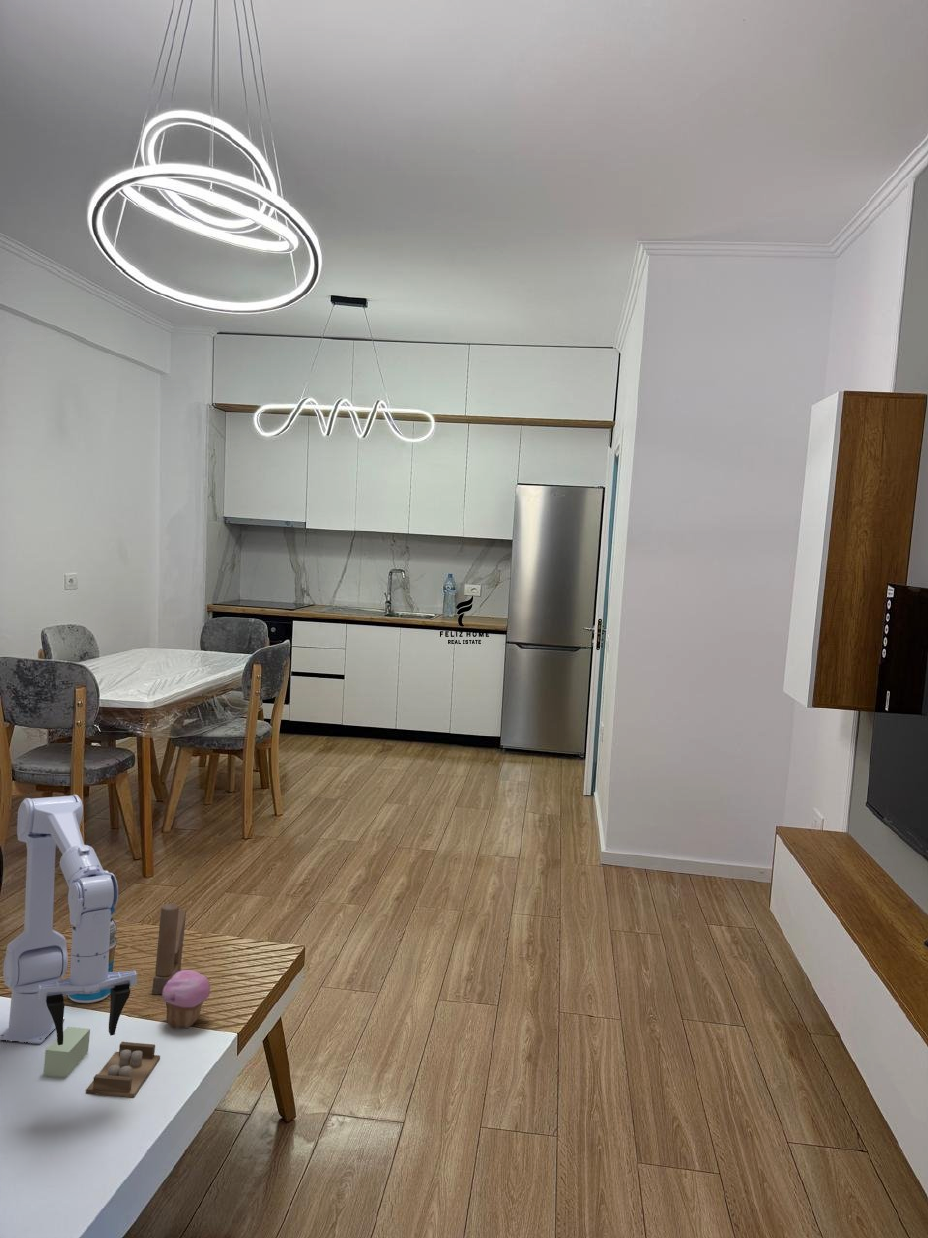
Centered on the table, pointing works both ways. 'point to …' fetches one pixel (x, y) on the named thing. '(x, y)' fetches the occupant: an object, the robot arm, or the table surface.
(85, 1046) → the pale green block
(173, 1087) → the table surface
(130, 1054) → the peg frame
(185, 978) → the cupcake
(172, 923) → the wooden block
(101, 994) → the beverage bottle
